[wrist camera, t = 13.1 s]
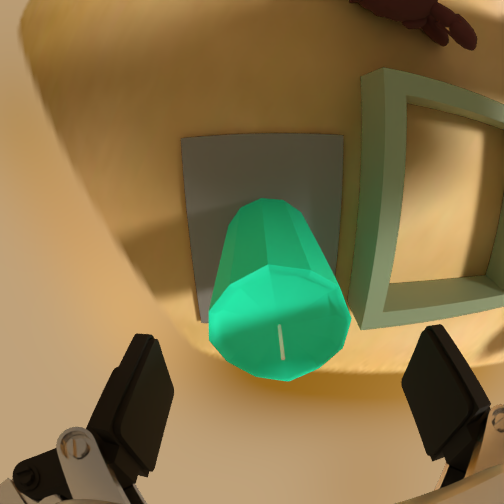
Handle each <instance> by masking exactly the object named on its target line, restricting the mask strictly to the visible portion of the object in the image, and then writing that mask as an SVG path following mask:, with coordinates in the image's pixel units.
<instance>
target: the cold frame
mask: <svg viewBox="0 0 504 504" xmlns="http://www.w3.org/2000/svg"><path fill="white" fill-rule="evenodd" d="M407 103H408V104H413V105H418V106H423V107H427V108H432V109H436V110H440V111H444V112H448V113H452V114H455V115H459V116H463V117H466V118H469V119H473V120H476V121H479V122H482V123H485V124H488V125H491V126H494V127H497V128H500V129H502V130H504V104H501V103H499V102H497V101H495V100H492V99H490V98H487V97H485V96H482V95H480V94H477V93H475V92H472V91H469V90H466V89H463V88H461V87H458V86H455V85H452V84H448V83H445V82H442V81H439V80H435V79H432V78H428V77H424V76H421V75H417V74H413V73H408V72H404V71H400V70H395V69H390V68H385V67H383V68H380V69H378V70H375V71H373V72H370V73H368V74H366V75H363V76H361V107H362V141H361V173H360V191H359V206H358V218H357V229H356V239H355V248H354V256H353V264H352V272H351V279H350V286H349V293H348V299H347V302H348V304H349V306H350V308H351V310H352V312H353V315H354V317H355V319H356V321H357V323H358V325H359V328H360V330H368V329H377V328H385V327H393V326H401V325H408V324H415V323H422V322H428V321H434V320H440V319H446V318H452V317H457V316H462V315H467V314H472V313H477V312H482V311H487V310H491V309H496V308H500V307H504V195H503V202H502V208H501V213H500V219H499V224H498V229H497V233H496V238H495V242H494V246H493V250H492V254H491V258H490V261H489V265H488V268H487V272H486V275H480V276H471V277H461V278H451V279H441V280H429V281H418V282H405V283H392V284H389V282H390V277H391V272H392V267H393V261H394V256H395V250H396V244H397V237H398V231H399V223H400V216H401V207H402V198H403V188H404V176H405V161H406V135H407Z"/></svg>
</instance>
